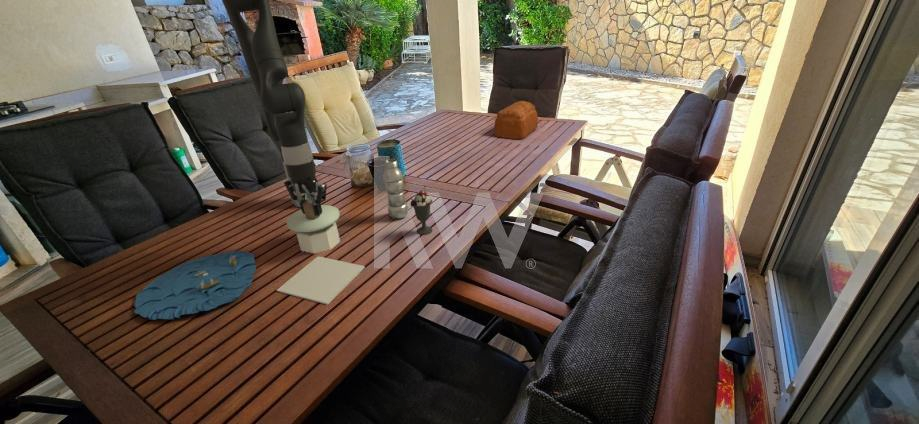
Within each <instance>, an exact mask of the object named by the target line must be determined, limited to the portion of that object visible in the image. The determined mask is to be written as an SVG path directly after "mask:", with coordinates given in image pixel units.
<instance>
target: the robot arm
mask: <svg viewBox="0 0 919 424" xmlns="http://www.w3.org/2000/svg"><path fill="white" fill-rule="evenodd" d="M221 1H222V4H223V6H224V8H225V11H226V14H227V15H228V17H229V18H228V19H229V20H230V23H231V26H232V27H233V31H234V32H235V36H236V37H237V40H238V43H239V47H240V49H241V51H242V52H241V53H242V55H243V58H244V62H245V65H246V67H247V71H248V74H249V77H250V79H251V81H252V84H253V86H254V88H255V91H256V93H257V97H258V99H259V103H260V105H261V108H262V112H263V115H264V120H265V122H266V126H267V129H268V133H269V135H270V137H271V139H272V140H273V141H274V142H276V143H277V142H278V143H280V147H281V152H280V156H281V157H280V158H281V161H282V165H283V168H284V169H283V170H284V171H285V175H286V180H285V181H284V182H283V185H284V186H285V188H286V190H287V192H288V194H289V198H290V201H291V204H292V205H294V206H295V207H297V208H300V210H301V211H302V212H303V214H305V211H304V208H303V203H304V202H306V201H308V200H311V202H312V204H313V209H314V213H315V216H319V215H321V214H322V207H321V205H322V203H323V202H325V201H327V199H326V198H327V189H328V188H327V187H328V186H327V185H328V184H327V183H325V182H323V183H320V182H319V181H318V179H317V177H316V173H317V168H316V166H315V160H314V157H313V156H314V155H313V151H312V148H311V145H310V143H309V140H308V134H307V131H306V127H305V126H306V125H305V107H306V106H305V105H306V94H305V92H304V89H303V87H301V86H300V84H298V83H296V82H287V83H284V80H285V79H286V78H287V77H288V76H289V70H288V67H287V64H286V60H285V58H284V54H283V53H282V49H281V47H280V44H279V40H278V36H277V31H276V27H275V21H274V18H273V17H274V16H273V14H272V10H271V5H270V2H269V0H221ZM255 11H258V21H257V26H256V27H255V29H254V30H255V31H254V30H253V29H252V28H251V27H250V26H249V25H248V23H247V22H246V20H245V19H244V18H243V15H241V14H242V13H249V12H255Z"/></svg>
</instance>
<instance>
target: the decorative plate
mask: <svg viewBox="0 0 919 424" xmlns="http://www.w3.org/2000/svg"><path fill="white" fill-rule="evenodd" d="M255 263H256V259H255V256H254V253H253V252H246V251H245V250H244V251H243V250H236V249H235V250H233V251H230V250H229V251H226V252H220V253H216V254H212V255H204V256H203V257H197V258H194V259H191V260H190V261H189V260H188V261H184V262H183V263H181V264H178V266H176V267H173V268H172V269H170V270H169V271H166V272H165V273H162V274H160V275H159V276H157V277H156V278H155V279H154V280H152V281H151V282H149V283H148V284H147V285H146V286H144V287H143V288H142V290H141V291H139V292H138V293H136V296H135V301H134V307H135V310H133V313H135V315H140V316H141V317H143V318H145V319H147V320H153V321H154V320H155V321H156V320H159V319H161V320H174V319H175V318H177V319H180V318H181V317H180V316H182V315H183V316H184V315H191V314H197V313H199V312H203V311H204V312H207V311H211V310H212V309H216V308H217V307H218V306H219V307H220V306H221V305H224V304H227V303H232V302H233V301H235V300H236V298H237V299H238V298H241V295H242V294H243V293H244V291H245V290H246V289H247V288H248V287H249V286H251V284H252V283H253V281H254V280H255V278H253V276H254V275H255V273H256V269H257V265H256V264H255Z"/></svg>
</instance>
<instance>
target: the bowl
mask: <svg viewBox="0 0 919 424" xmlns="http://www.w3.org/2000/svg"><path fill="white" fill-rule="evenodd" d="M295 233H296V237H297V240H298V245H299V247H300V251H301V252H304V251H305V253H309V252H310V253H309V254H318V253H321V252H326V251H329V250H332V249H333V248H334V247H335V246H337V245H338V244H339V243H341V239H340V234H339V231H338V226H337V221H336V222H335V223H334V224H332V225H330V226H328V227H326V228H323V229H320V230H317V231H312V232H296V231H295Z"/></svg>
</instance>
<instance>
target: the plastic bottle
mask: <svg viewBox="0 0 919 424" xmlns="http://www.w3.org/2000/svg"><path fill="white" fill-rule="evenodd" d="M384 163H385V165H384V166H385V168H386V169H385V170H384V171H383V174H382V180H383V183H384V186H385V190H386V194H387V212H388V214H389V217H391V218H393V219H395V220H396V219H403V218H405V217H406V216H407V215H408V213H409V207H408V204H407V202H406V197H405V192H404V189H405V188H404V175H403V172H402V171H401V169H400V168H399V167H398V166H399V164H398V160H397V159H395V158H390V159H386V160H385V161H384Z"/></svg>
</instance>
